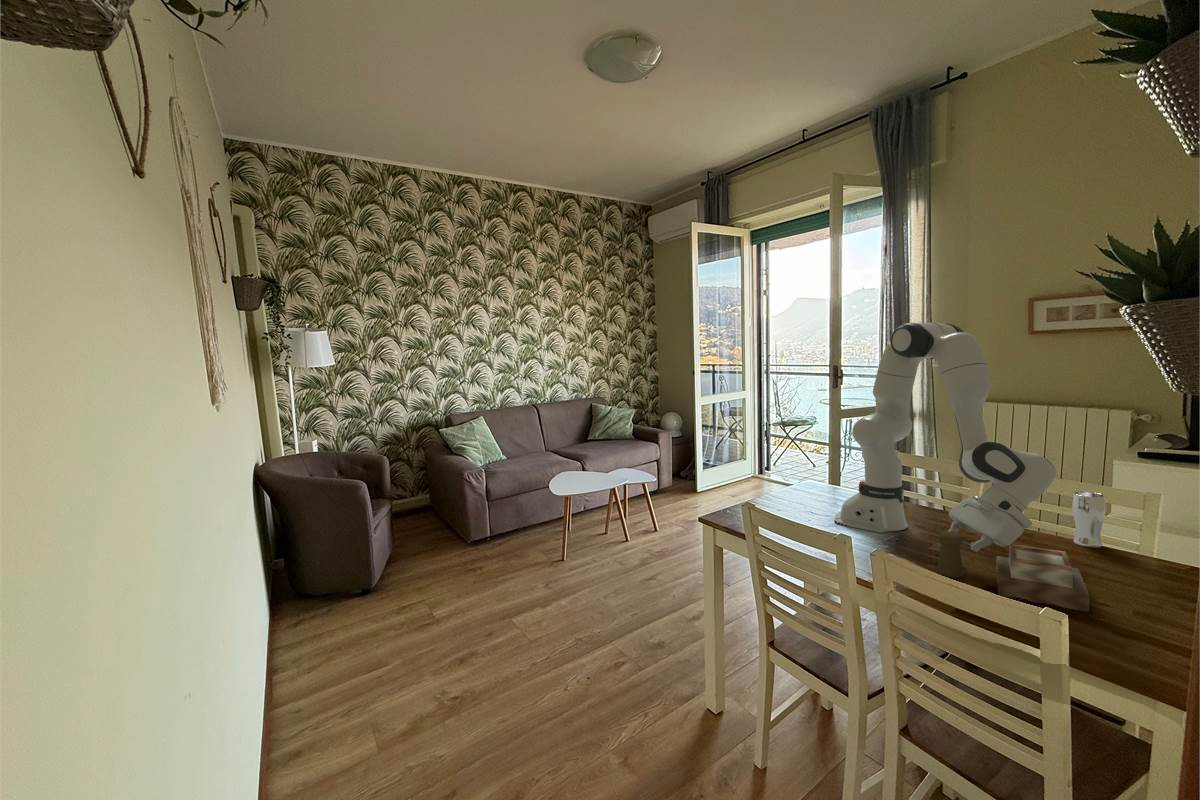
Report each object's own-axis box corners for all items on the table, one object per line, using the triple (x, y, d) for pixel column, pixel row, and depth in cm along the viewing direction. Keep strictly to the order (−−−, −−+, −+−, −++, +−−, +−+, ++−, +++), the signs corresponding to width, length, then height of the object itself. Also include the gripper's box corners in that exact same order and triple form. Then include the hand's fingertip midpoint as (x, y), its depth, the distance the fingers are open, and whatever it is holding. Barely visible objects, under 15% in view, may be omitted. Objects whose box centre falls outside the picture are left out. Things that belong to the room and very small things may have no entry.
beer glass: (1104, 542, 148) (1105, 493, 147) (1104, 550, 143) (1106, 499, 142) (1071, 537, 153) (1073, 489, 152) (1070, 544, 148) (1072, 495, 147)
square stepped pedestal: (998, 595, 122) (998, 560, 122) (996, 570, 135) (996, 538, 134) (1088, 612, 113) (1090, 574, 112) (1077, 583, 125) (1078, 549, 125)
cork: (968, 577, 132) (968, 537, 131) (943, 577, 133) (943, 537, 132) (956, 567, 138) (956, 529, 137) (932, 567, 139) (932, 528, 138)
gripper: (965, 487, 143) (929, 521, 145) (1018, 509, 123) (976, 549, 125) (981, 501, 143) (945, 536, 145) (1038, 526, 123) (995, 566, 125)
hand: (960, 542), depth 134 cm, fingers open, 8 cm apart
